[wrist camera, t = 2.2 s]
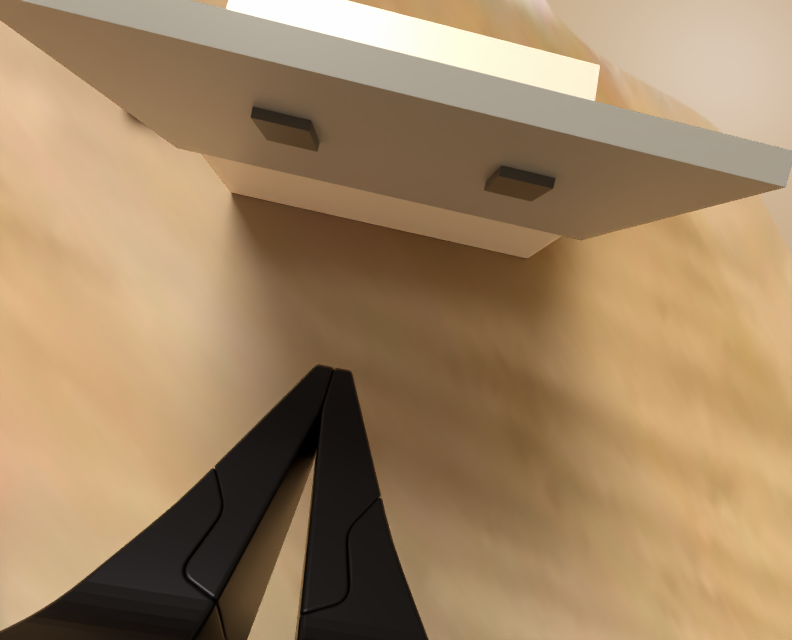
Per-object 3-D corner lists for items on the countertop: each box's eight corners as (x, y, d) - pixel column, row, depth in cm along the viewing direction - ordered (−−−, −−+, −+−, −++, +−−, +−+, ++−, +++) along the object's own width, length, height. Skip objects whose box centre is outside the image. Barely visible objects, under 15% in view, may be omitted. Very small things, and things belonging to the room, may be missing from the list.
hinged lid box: (527, 258, 24) (575, 227, 19) (104, 164, 23) (21, 99, 17) (547, 130, 25) (600, 65, 20) (145, 32, 24) (79, -69, 18)
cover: (585, 222, 18) (579, 246, 18) (180, 129, 17) (175, 154, 17) (794, 151, 9) (782, 200, 9) (-46, -59, 8) (-55, -3, 8)
